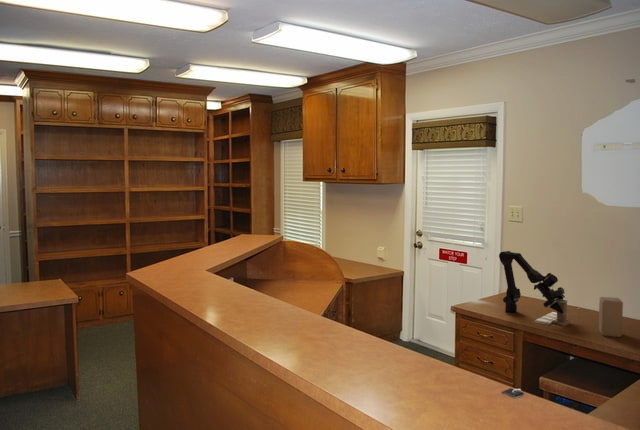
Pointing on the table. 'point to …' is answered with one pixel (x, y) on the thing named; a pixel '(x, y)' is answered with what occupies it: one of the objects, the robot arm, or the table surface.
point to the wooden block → (610, 316)
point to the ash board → (547, 318)
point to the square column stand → (562, 314)
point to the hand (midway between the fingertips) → (564, 312)
